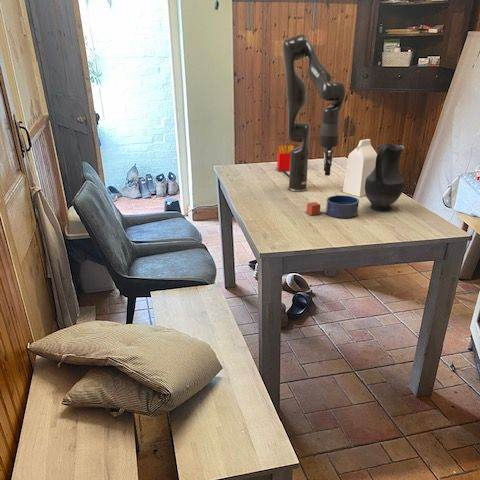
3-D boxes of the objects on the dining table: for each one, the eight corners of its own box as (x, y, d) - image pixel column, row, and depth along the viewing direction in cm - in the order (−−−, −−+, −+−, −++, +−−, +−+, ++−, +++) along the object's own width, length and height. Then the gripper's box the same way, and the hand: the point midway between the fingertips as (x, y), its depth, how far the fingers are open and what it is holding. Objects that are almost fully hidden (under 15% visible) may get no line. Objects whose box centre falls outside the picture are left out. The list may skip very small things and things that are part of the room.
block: (306, 212, 231) (307, 203, 229) (315, 211, 232) (315, 202, 230) (311, 215, 227) (311, 205, 225) (319, 214, 229) (320, 204, 227)
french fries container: (276, 168, 302) (277, 144, 295) (291, 168, 303) (292, 144, 296) (279, 171, 296) (280, 147, 289) (294, 171, 297) (295, 146, 290)
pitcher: (404, 206, 238) (415, 141, 222) (389, 218, 223) (400, 149, 208) (370, 200, 246) (378, 137, 231) (353, 212, 231) (360, 145, 216)
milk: (359, 196, 252) (365, 143, 239) (342, 191, 260) (348, 139, 247) (375, 192, 258) (382, 140, 245) (358, 187, 266) (364, 136, 253)
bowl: (320, 211, 233) (321, 197, 229) (346, 207, 237) (347, 193, 234) (336, 220, 221) (337, 206, 218) (363, 216, 226) (365, 202, 223)
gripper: (319, 131, 216) (317, 169, 224) (321, 136, 204) (318, 176, 211) (337, 131, 215) (334, 169, 223) (339, 136, 203) (336, 177, 211)
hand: (326, 173), depth 217 cm, fingers open, 8 cm apart
